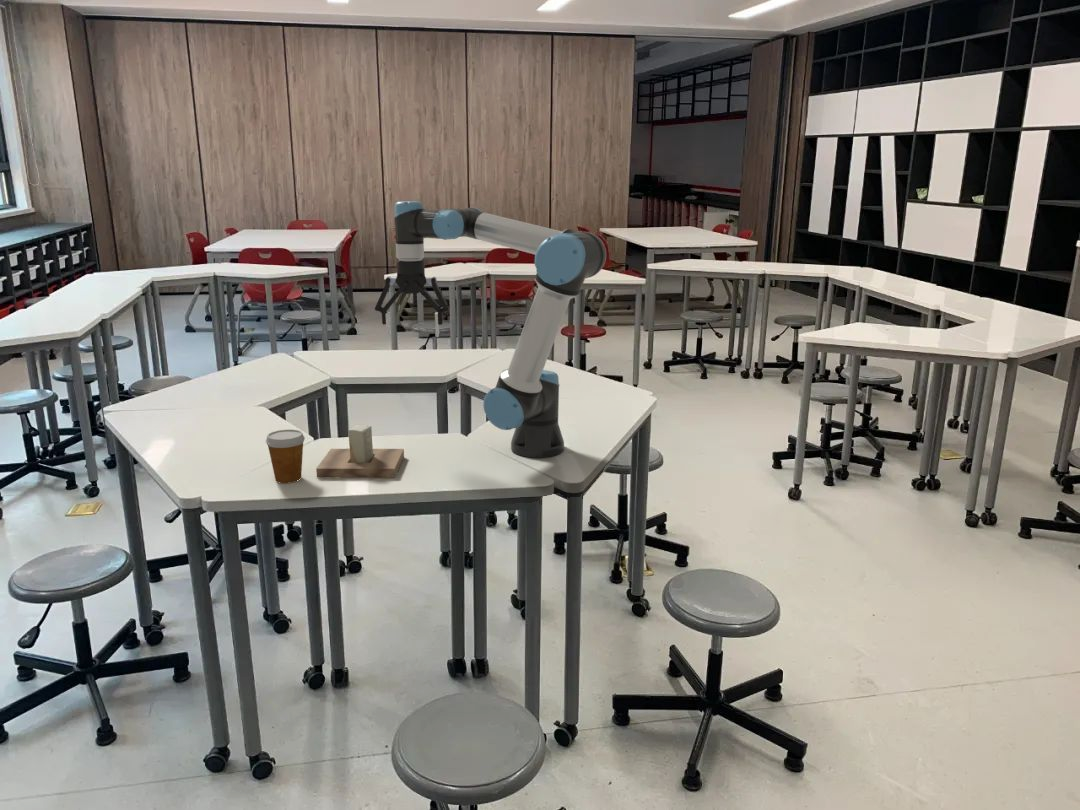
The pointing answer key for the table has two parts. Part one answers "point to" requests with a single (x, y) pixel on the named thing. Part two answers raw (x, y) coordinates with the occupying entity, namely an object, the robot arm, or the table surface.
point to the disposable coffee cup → (286, 454)
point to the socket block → (361, 464)
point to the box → (360, 444)
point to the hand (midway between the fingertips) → (413, 336)
